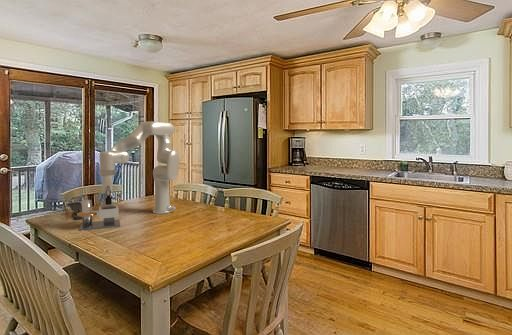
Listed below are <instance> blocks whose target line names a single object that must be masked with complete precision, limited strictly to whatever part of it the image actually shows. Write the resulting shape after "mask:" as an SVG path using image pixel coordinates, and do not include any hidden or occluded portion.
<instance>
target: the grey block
mask: <svg viewBox="0 0 512 335" xmlns="http://www.w3.org/2000/svg"><path fill="white" fill-rule="evenodd" d="M114 206H115V205H114V204H111V205H103V206H102V207H103V209H111V208H114ZM115 218H116V217H112V218H103V221H104V224H112V223H115V220H116V219H115Z"/></svg>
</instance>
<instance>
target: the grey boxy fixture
mask: <svg viewBox="0 0 512 335" xmlns="http://www.w3.org/2000/svg"><path fill="white" fill-rule="evenodd" d="M81 204H82V212H79V213H77V216H78V217H82V219H83V220H82V222H81V223H80V226H79V231H80V232H81V231H82V230H83V231H91V230H92V229H93V230H99V229H101V230H103V229H108V228H109V229H110V228H120V227H121V223H120V219H115V223H112V224H104V220H102V219H104V218H112V217H114V218H119V217H120V213H119V212H120V211H119V209H120V208H119V205H114V208H111V209H103V206H99V207H98V210H93V203H92V199H83V200H82V201H81ZM93 216H99V217H98V218H99V221H93ZM100 219H101V220H100Z"/></svg>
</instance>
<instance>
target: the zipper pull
mask: <svg viewBox="0 0 512 335" xmlns="http://www.w3.org/2000/svg"><path fill="white" fill-rule="evenodd" d="M67 206H68V207H69V208H70V209H71V210H72V211H73V212H72V213H71V216H72V219H73V220H74V221H83V219H82V217H78V216H77V213H79V212H82V201H81V202H80V201H76V202H69V203H67Z"/></svg>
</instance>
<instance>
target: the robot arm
mask: <svg viewBox="0 0 512 335" xmlns="http://www.w3.org/2000/svg"><path fill="white" fill-rule="evenodd" d="M174 133H175V125H174V124H172V123H171V122H163V121H161V122H160V121H153V120H152V121H142V122H141V123H140V124H139V125H138V126H137V127H136V128H135V129H134V130H133V131H132V132H131V133H130V134H129V135H128V136H126V137H125V138H123V139H122V140H120V141H118V142H117V143H115V144H114V145H112V147H111V148H110V149H109V150H108V151H100V153H99V175H100V177H101V179H102V180H101V181H102V182H101V183H102V194H103V195H105V197H104V198H105V200H104V201H105V203H104V204H105V206H108V205H113V200H112V199H113V198H112V194H113V190H114V189H113V187H114V186H113V185H114V182H113V179H114V178H113V177H115V176H116V173H115V172H116V171H115V170H116V168H115V167H116V166H115V164H120V165H124V164H126V163H129V160H130V154H129V153H128V152H127V151H129V150H132V149H135V148H138V147H140V146H141V145H142V144H143V143H144V142H145V141H146V139H147V138H149V136H155V137H156V139H157V152H156V153H157V154H156V161H157V162H158V163H160V165H157V166H155V167H154V168H153V169H152V176H153V180H154V181H153V184H154V209H153V210H152V213H153V214H156V215H157V214H159V215H160V214H162V215H163V214H169V213H172V212H173V211H174V210H176V206H172V204H170V183H169V181H174V180H176V179H177V177H178V174H179V167H180V166H179V164H180V155H179V153H178V151H176V150H174V149H172V140H171V137H170V136H172V135H174ZM161 164H164V165H161Z"/></svg>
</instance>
